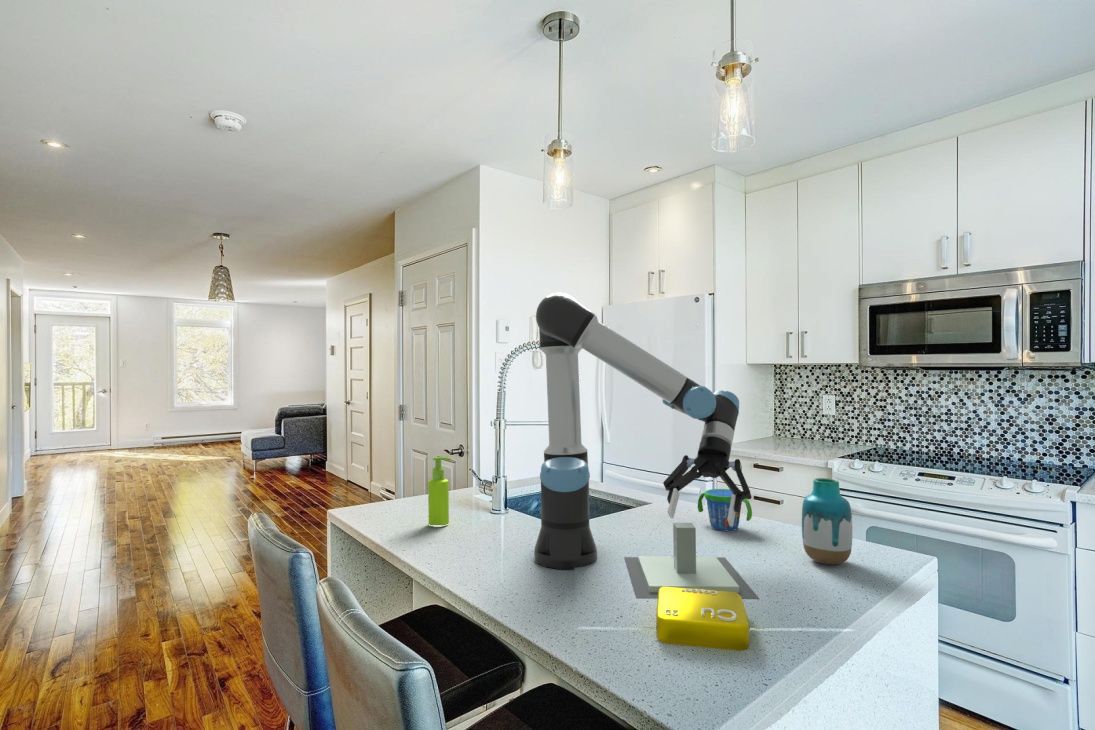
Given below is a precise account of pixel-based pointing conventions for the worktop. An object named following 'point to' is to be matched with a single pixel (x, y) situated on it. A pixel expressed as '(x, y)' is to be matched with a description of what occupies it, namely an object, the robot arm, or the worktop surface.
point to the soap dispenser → (438, 495)
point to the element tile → (702, 618)
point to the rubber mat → (643, 592)
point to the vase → (827, 523)
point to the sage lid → (685, 566)
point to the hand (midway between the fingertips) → (699, 519)
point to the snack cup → (721, 509)
